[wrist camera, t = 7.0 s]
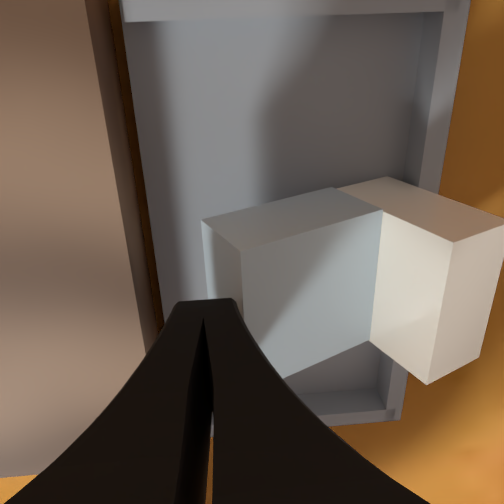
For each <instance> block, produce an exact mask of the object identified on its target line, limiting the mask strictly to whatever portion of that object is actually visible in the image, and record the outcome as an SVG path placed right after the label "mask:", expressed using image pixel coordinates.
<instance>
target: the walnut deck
mask: <svg viewBox="0 0 504 504" xmlns="http://www.w3.org/2000/svg"><path fill="white" fill-rule="evenodd" d="M157 337H158V328H157V322H156V315H155V308H154V302H153V295H152V289H151V282H150V276H149V269H148V263H147V256H146V249H145V243H144V236H143V230H142V223H141V217H140V210H139V203H138V197H137V190H136V184H135V177H134V171H133V164H132V157H131V151H130V144H129V138H128V131H127V125H126V118H125V112H124V105H123V98H122V92H121V85H120V79H119V72H118V66H117V59H116V52H115V46H114V39H113V33H112V26H111V20H110V13H109V7H108V0H0V478H4V477H15V476H26V475H37V474H40V473H41V472H42V471H43V470H45V469H46V468H47V467H48V466H49V465H50V464H51V463H52V462H54V461H55V460H56V459H57V458H58V457H59V456H60V455H61V454H62V453H63V452H64V451H65V450H66V449H67V448H68V447H69V446H70V445H71V444H72V443H73V442H74V441H75V440H76V439H77V438H78V437H79V436H80V435H81V434H82V433H83V432H84V431H85V430H86V429H87V428H88V427H89V426H90V425H91V424H92V423H93V421H94V420H95V419H96V418H97V417H98V416H99V415H100V414H101V413H102V411H103V410H104V409H105V408H106V407H107V406H108V404H109V403H110V402H111V401H112V400H113V399H114V397H115V396H116V395H117V394H118V392H119V391H120V390H121V389H122V387H123V386H124V385H125V383H126V382H127V381H128V379H129V378H130V376H131V375H132V374H133V372H134V371H135V370H136V368H137V367H138V366H139V364H140V363H141V361H142V360H143V359H144V357H145V355H146V354H147V352H148V351H149V349H150V348H151V346H152V345H153V343H154V341H155V340H156V338H157Z"/></svg>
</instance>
